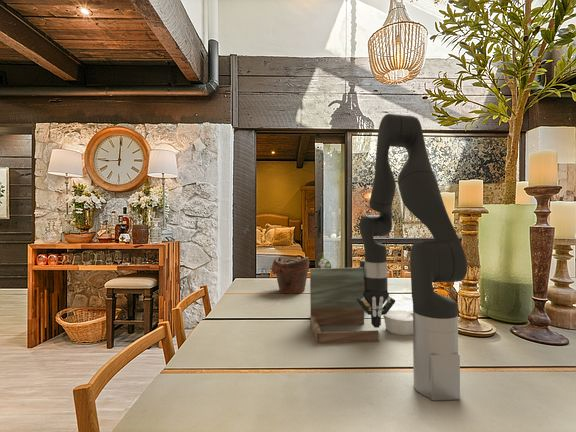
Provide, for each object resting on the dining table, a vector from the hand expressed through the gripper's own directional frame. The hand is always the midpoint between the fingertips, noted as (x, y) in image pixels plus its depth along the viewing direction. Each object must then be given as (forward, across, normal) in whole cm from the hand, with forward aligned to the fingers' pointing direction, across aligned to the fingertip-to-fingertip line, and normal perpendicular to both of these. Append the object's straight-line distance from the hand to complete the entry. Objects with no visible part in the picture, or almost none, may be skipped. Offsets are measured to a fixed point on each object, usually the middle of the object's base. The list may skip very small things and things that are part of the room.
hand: (376, 326), depth 112 cm
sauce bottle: (+2, +3, +27) cm, 27 cm away
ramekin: (+2, +8, 0) cm, 9 cm away
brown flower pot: (+2, -25, +61) cm, 66 cm away
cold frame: (+2, -11, 0) cm, 11 cm away
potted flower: (+2, -15, +17) cm, 22 cm away
